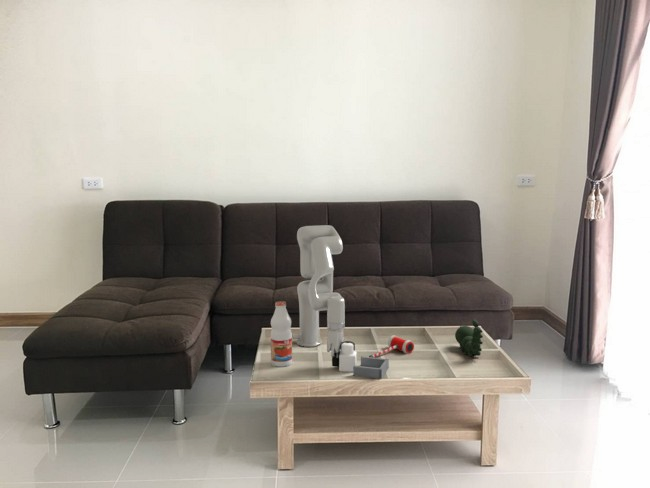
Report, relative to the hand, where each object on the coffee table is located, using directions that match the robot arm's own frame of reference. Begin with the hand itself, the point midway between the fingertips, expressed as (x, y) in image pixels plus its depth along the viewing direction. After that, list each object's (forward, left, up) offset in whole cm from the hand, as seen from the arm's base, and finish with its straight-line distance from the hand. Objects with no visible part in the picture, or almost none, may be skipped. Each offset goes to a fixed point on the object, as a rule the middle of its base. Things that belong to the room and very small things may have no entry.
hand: (336, 365), depth 256 cm
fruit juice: (-25, -2, -1) cm, 25 cm away
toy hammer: (+19, +27, -2) cm, 33 cm away
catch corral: (+15, 0, -1) cm, 15 cm away
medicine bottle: (+5, 0, -1) cm, 5 cm away
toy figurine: (+53, +39, -1) cm, 66 cm away
